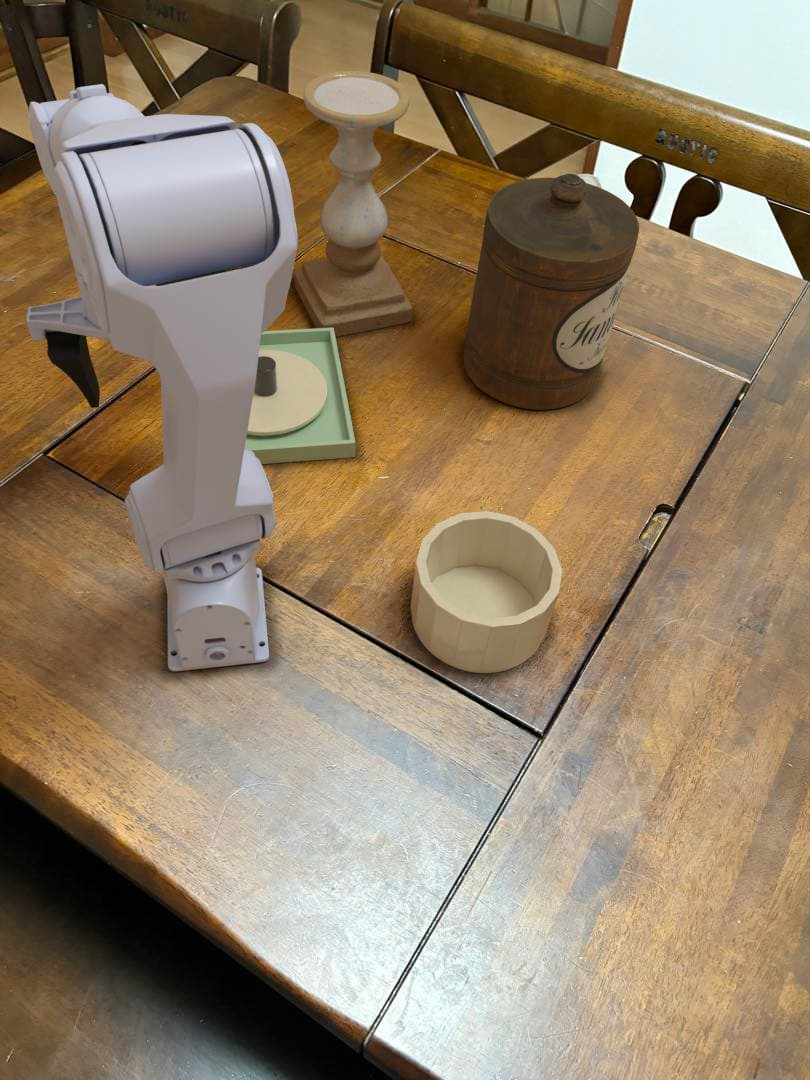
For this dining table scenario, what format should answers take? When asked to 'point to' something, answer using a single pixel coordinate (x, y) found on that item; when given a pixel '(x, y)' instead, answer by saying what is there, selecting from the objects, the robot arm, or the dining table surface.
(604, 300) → the wooden container
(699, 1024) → the dining table surface
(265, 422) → the lid
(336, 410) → the tray
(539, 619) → the tin
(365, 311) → the candle holder
